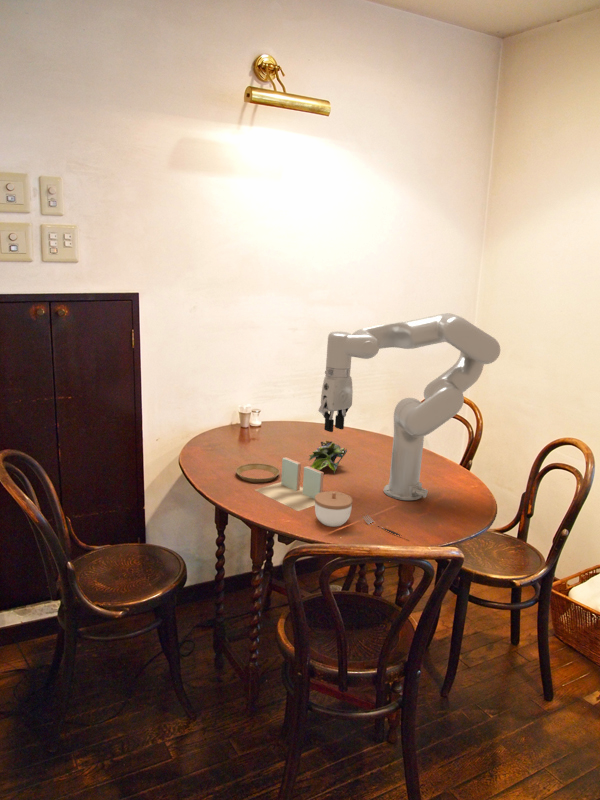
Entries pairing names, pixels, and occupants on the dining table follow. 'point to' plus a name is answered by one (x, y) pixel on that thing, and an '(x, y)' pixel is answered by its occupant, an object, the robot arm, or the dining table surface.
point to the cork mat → (287, 496)
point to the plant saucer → (257, 466)
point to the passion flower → (327, 455)
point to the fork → (383, 528)
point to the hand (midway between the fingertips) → (333, 429)
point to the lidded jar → (333, 508)
